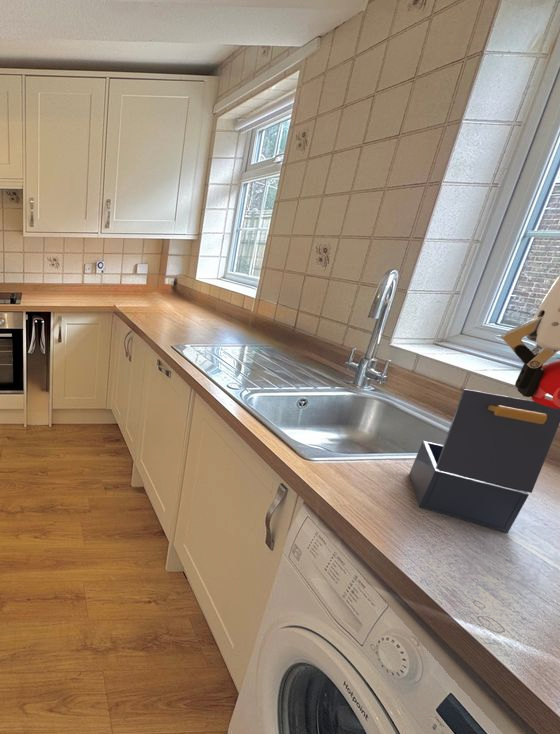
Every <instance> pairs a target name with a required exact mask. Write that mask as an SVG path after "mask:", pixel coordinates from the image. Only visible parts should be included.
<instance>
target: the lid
mask: <svg viewBox="0 0 560 734" xmlns="http://www.w3.org/2000/svg"><path fill="white" fill-rule="evenodd" d="M559 426H560V409H556V408H552V407H548V406H545V405H542V404H539V403H536V402H535V401H533V400H530V399H524V398H519V397H512V396H507V395H501V394H495V393H491V392H490V393H489V392H485V391H479V390H472V389H466V388H463V389H462V392H461V394H460V397H459V400H458V404H457V406H456V408H455V411H454V415H453V417H452V420H451V423H450V426H449V429H448V432H447V435H446V437H445V441H444V443H443V445H444V446H443V449H442V451H441V454H440V457H439V460H438V463H437V466H436V469H439V470H442V471H446V472H450V473H454V474H458V475H462V476H466V477H470V478H474V479H478V480H482V481H486V482H490V483H494V484H498V485H502V486H506V487H510V488H514V489H517V490H521V491H525V492H527V493H528V494H532V493H533V491H534V489H535V486H536V483H537V480H538V479H539V476H540V473H541V471H542V469H543V466H544V463H545V461H546V458H547V456H548V453H549V451H550V448H551V446H552V443H553V441H554V438H555V435H556V433H557V432H558V428H559Z"/></svg>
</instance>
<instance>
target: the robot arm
mask: <svg viewBox="0 0 560 734" xmlns="http://www.w3.org/2000/svg"><path fill="white" fill-rule="evenodd" d="M533 315H534V316H533V317H532V319H531V320H528V321H527V322H524V323H522V324H520V325H518V326H515V327H513V328H512V329H510V330H508V331H505V332H503V333H502V334H501V335H500V338H501V340H503V342H505V344H506V345H507V346H508V347H509V348H510V349H511V350H512V351H513V353H514V354H515V355H516V356H517V357H518V358H519V360H521V362H522V363H523V365H522V368H521V370H520V372H519V374H518V376H517V378H516V380H515V384H514V386H515V388H517V391H518V393H519V394H521V395H522V396H523V397H525V398H532V396H533V395H534V393H535V391H536V389H537V386H538V384H539V382H540V380H541V378H542V376H543V374H544V370H542V369H541V368H542V366H544V365H545V363H546V362H547V361H549V360H550V359H551V358H552V357H553V356H554V355H555V354H557V353H558V352H559V351H560V275H559V276H558V277H557V278H556V280H555V281H554V283H553V284H552V285H551V287H550V288H549V290H548V291H547V293H546V294H545V297H544V298H543V300H542V301H541V302H540V304H539V307H538V308H537V309H536V312H535V314H533ZM524 337H526V339H528V340H529V341H532V342H534V343H536V344H535V345H534V346H533V347H531V349H530V348H529V347H528V346H527V345H526V344H525V343H524V341H522V340H523V338H524Z"/></svg>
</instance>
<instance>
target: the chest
mask: <svg viewBox="0 0 560 734" xmlns="http://www.w3.org/2000/svg"><path fill="white" fill-rule="evenodd" d="M443 446H444V444H440V443H435V442H431V441H426V440H422V442H421V444H420V447H419V449H418V451H417V453H416V456H415V459H414V461H413V463H412V466H411V468H410V471H409V477H410V480H411V484H412V487H413V490H414V495H415V498H416V501H417V504H418V507H419V508H421V509H424V510H428V511H431V512H435V513H438V514H442V515H445V516H448V517H451V518H454V519H458V520H461V521H465V522H469V523H471V524H476V525H478V526H482V527H485V528H488V529H492V530H496V531H499V532H503V533H505V534H508V533H509V532H510V530H511V528H512V526H513V525H514V523H515V521H516V519H517V518H518V516H519V513H520V512H521V511H522V508H523V506H524V505H525V503H526V501H527V499H528V498H529V497H530V493H529V492H525V491H521V490H517V489H514V488H510V487H506V486H502V485H498V484H494V483H490V482H486V481H482V480H478V479H474V478H470V477H466V476H462V475H458V474H454V473H450V472H446V471H442V470H439V469H436V466H437V463H438V460H439V457H440V454H441V451H442V449H443Z"/></svg>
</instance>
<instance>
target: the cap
mask: <svg viewBox="0 0 560 734" xmlns="http://www.w3.org/2000/svg"><path fill="white" fill-rule="evenodd" d="M541 369H542V370H544V374H543V376H542V378H541V380H540V382H539V384H538V386H537V389H536V391H535V393H534V395H533V396H532V397H531V401H535V402H536V403H539V404H542V405H545V406H548V407H552V408H556V409H560V360H556V361H553V362H550V363H547V364H543V366H542V368H541ZM546 395H549V396H551V397H552V400H551V399H548V398H546Z"/></svg>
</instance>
